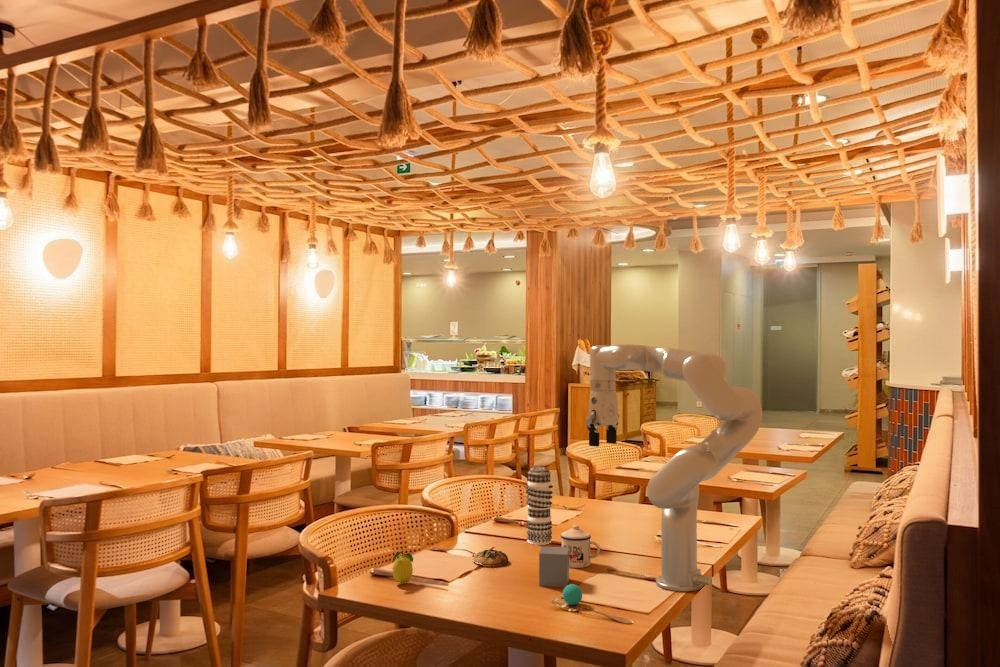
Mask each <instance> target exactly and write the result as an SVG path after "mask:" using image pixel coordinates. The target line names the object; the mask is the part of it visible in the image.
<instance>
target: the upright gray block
mask: <svg viewBox="0 0 1000 667" xmlns="http://www.w3.org/2000/svg"><path fill="white" fill-rule="evenodd" d="M538 560H539V561H538V565H539V566H538V570H539V571H538V572H539V573H538V574H539V575H538V578H539V579H538V583H539V584H538V586H539V587H557V588H565V587H566V586H567V585H569V583H570V582H569V580H570V567H569V547H562V546H544V545H541V547H540V551H539V554H538Z"/></svg>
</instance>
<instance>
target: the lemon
mask: <svg viewBox="0 0 1000 667" xmlns="http://www.w3.org/2000/svg"><path fill="white" fill-rule="evenodd" d="M401 548H402V550H401V551H397V552H396V553H395V554H394V555H393V558H392V561H391V564H393V565H392V576H393V579H394V580H395V581H396V582H399V583H400V584H402V585H405V583H406V582H408V581H409V580H411V578H412V576H413V570H414V569H413V563H414V557H413V555H412V553H410V552H408V553H405V552H404V547H401ZM400 555H401V556H400ZM398 556H400V557H398ZM393 562H394V563H393Z"/></svg>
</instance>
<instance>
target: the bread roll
mask: <svg viewBox="0 0 1000 667" xmlns="http://www.w3.org/2000/svg"><path fill="white" fill-rule="evenodd" d="M473 560H474V561H475V562H478V563H481V564H482V565H483V568H496V567H504V566H505V565H507V564H508V562H509V558H508V555H507V554H506V553H505V552H503V551H502V550H497V549H492V548H491V549H484V550H482V551H479V552H477V553H476V554H474V556H473V557H472V561H473Z"/></svg>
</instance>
